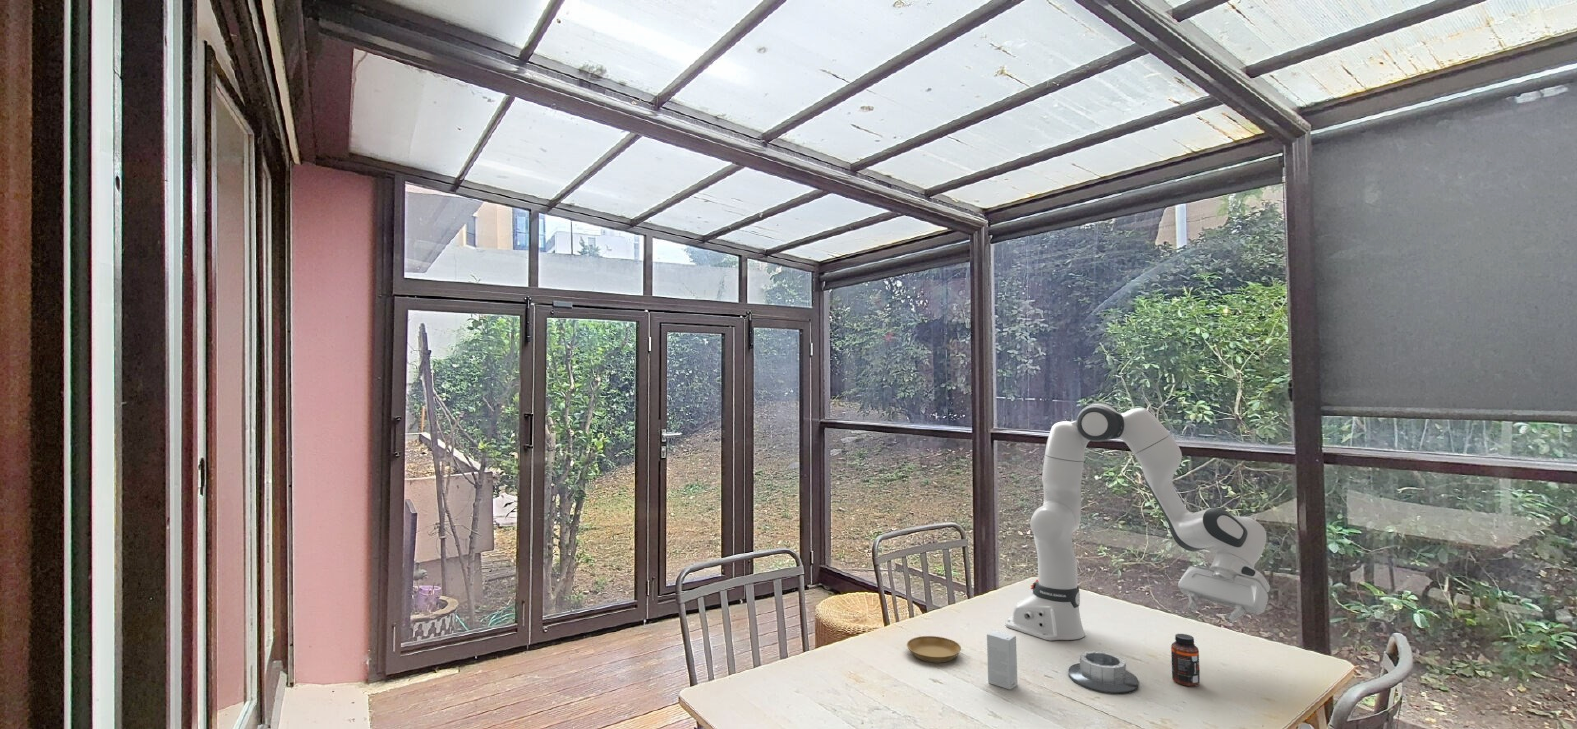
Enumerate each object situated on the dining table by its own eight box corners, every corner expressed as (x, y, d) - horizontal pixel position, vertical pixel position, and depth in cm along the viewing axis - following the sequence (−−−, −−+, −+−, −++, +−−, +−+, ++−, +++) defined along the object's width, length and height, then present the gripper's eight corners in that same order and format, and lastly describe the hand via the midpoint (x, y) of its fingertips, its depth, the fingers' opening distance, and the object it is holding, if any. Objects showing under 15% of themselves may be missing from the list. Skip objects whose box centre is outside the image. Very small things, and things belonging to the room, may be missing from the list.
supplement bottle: (1204, 688, 159) (1202, 641, 159) (1177, 686, 160) (1176, 639, 160) (1194, 678, 165) (1192, 632, 165) (1168, 676, 166) (1167, 631, 166)
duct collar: (1059, 680, 163) (1058, 660, 164) (1080, 661, 175) (1079, 642, 175) (1128, 700, 153) (1128, 679, 153) (1146, 678, 165) (1145, 658, 165)
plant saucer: (940, 671, 170) (940, 661, 170) (896, 654, 181) (895, 645, 181) (971, 656, 180) (971, 646, 180) (928, 641, 191) (928, 632, 191)
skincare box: (1017, 684, 161) (1017, 635, 162) (1010, 690, 158) (1009, 640, 159) (994, 677, 165) (993, 629, 166) (987, 683, 162) (986, 634, 163)
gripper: (1185, 556, 181) (1164, 597, 176) (1267, 574, 163) (1246, 620, 158) (1195, 570, 183) (1175, 611, 178) (1277, 589, 165) (1257, 635, 160)
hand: (1209, 615), depth 168 cm, fingers open, 8 cm apart
